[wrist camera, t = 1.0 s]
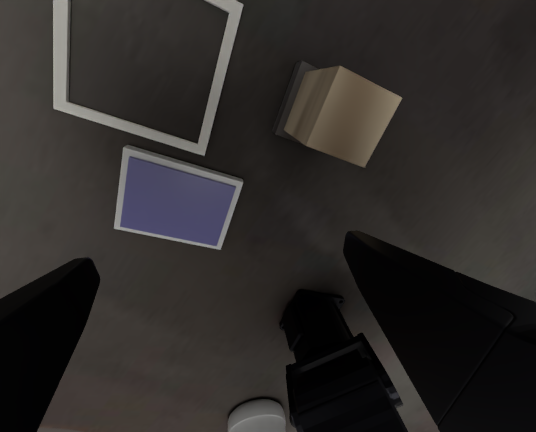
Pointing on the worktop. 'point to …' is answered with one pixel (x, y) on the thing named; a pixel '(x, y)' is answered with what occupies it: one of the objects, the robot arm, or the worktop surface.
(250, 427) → the vodka
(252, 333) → the worktop surface
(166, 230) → the ink pad
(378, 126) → the wooden stamp
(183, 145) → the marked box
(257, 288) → the worktop surface
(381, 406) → the robot arm
